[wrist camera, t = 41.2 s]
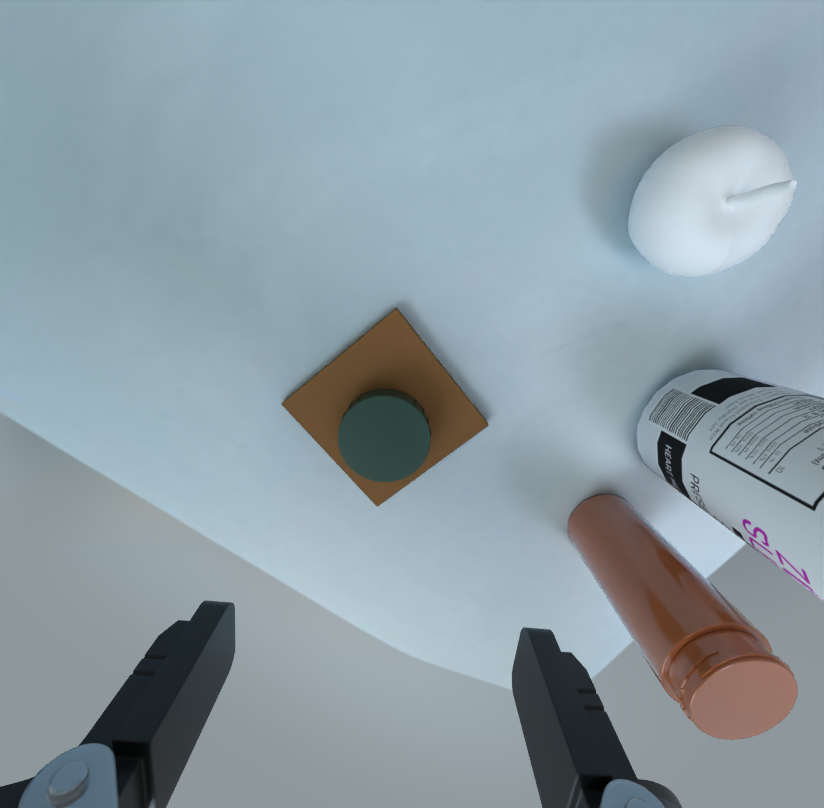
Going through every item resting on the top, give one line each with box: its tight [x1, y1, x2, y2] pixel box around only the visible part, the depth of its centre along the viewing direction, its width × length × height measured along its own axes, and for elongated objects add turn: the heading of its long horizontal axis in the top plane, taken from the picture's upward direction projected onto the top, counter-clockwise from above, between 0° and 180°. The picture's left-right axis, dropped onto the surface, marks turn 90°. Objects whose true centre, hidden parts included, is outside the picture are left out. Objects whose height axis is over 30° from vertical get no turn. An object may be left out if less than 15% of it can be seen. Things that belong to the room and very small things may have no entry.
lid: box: [338, 388, 431, 482], centre depth 27 cm, size 6×6×2 cm
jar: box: [567, 494, 798, 740], centre depth 24 cm, size 5×5×14 cm
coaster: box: [282, 308, 488, 506], centre depth 28 cm, size 10×10×1 cm
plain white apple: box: [628, 125, 797, 277], centre depth 21 cm, size 7×7×8 cm
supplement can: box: [637, 369, 824, 601], centre depth 21 cm, size 8×8×15 cm
